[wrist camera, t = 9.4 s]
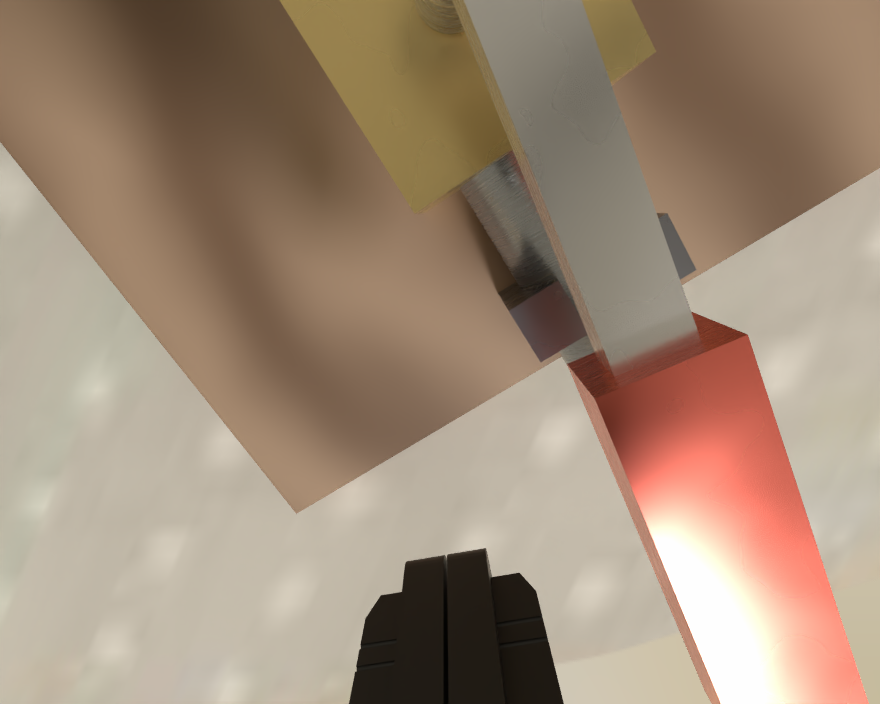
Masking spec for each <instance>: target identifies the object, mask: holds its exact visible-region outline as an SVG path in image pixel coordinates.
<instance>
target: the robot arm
mask: <svg viewBox="0 0 880 704" xmlns="http://www.w3.org/2000/svg"><path fill="white" fill-rule="evenodd" d="M356 667H357V672H355V676H354V681H353V686H352V691H351V697H350V702H349V704H564V703H563V699H562V695H561V691H560V687H559V683H558V679H557V675H556V671H555V666H554V662H553V658H552V654H551V650H550V646H549V642H548V638H547V634H546V630H545V626H544V622H543V618H542V614H541V610H540V605H539V601H538V597H537V593H536V591H535V590H534V588H533V587H532V586H531V585H530V584H529V583H528V582H527V581H526V580H525V578H524V577H523V576H522V575H521V574H520V573H515V574H509V575H503V576H497V577H492V575H491V570H490V565H489V560H488V555H487V551H486V548H484V549H478V550H472V551H466V552H460V553H454V554H448V555H447V559H446V556H445V555H443V556H437V557H431V558H425V559H419V560H413V561H407V562H406V564H405V570H404V579H403V588H402V592H399V593H393V594H387V595H381V596H380V598H379V599H378V601H377V602H376V604H375V605H374V607H373V608H372V610H371V611H370V613H369V614H368V616H367V617H366V619H365V624H364V629H363V635H362V640H361V649H360V650H359V655H358V660H357V666H356Z"/></svg>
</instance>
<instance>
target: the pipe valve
mask: <svg viewBox="0 0 880 704" xmlns="http://www.w3.org/2000/svg"><path fill="white" fill-rule="evenodd" d="M280 2H281V4H282V5H283V7H284V8H285V10H286V12H287V13H288V15H289V16H290V18H291V19H292V21H293V23H294V24H295V26H296V27H297V29H298V30H299V32H300V34H301V35H302V37H303V38H304V40H305V42H306V43H307V45H308V46H309V48H310V49H311V51H312V53H313V54H314V56H315V57H316V59H317V60H318V62H319V64H320V65H321V67H322V68H323V70H324V71H325V73H326V75H327V76H328V78H329V79H330V81H331V83H332V84H333V86H334V87H335V89H336V90H337V92H338V94H339V95H340V97H341V98H342V100H343V101H344V103H345V105H346V106H347V108H348V109H349V111H350V113H351V114H352V116H353V117H354V119H355V120H356V122H357V124H358V125H359V127H360V128H361V130H362V131H363V133H364V135H365V136H366V138H367V139H368V141H369V143H370V144H371V146H372V147H373V149H374V150H375V152H376V154H377V155H378V157H379V158H380V160H381V161H382V163H383V165H384V166H385V168H386V169H387V171H388V172H389V174H390V176H391V177H392V179H393V180H394V182H395V184H396V185H397V187H398V188H399V190H400V191H401V193H402V195H403V196H404V198H405V199H406V201H407V202H408V204H409V206H410V207H411V209H412V210H413V212H414V214H423V213H426V212H427V211H429V210H430V209H432V208H433V207H435V206H436V205H438V204H439V203H441V202H442V201H444V200H445V199H447V198H448V197H450V196H451V195H453V194H454V193H456V192H457V191H459V190H460V189H461V191H462V192H463V194H464V196H465V197H466V199H467V201H468V202H469V204H470V206H471V207H472V209H473V211H474V212H475V214H476V216H477V217H478V219H479V220H480V222H481V224H482V225H483V227H484V229H485V230H486V232H487V234H488V235H489V237H490V239H491V240H492V242H493V244H494V245H495V247H496V249H497V250H498V252H499V253H500V255H501V257H502V258H503V260H504V262H505V263H506V265H507V267H508V268H509V270H510V272H511V273H512V275H513V277H514V278H515V280H516V282H515V283H513V284H512V285H510V286H509V287H507V288H505V289H504V290H502V291H501V292H499V293H498V295H499V296H500V298H501V299H502V301H503V303H504V304H505V306H506V308H507V309H508V311H509V312H510V314H511V316H512V317H513V319H514V321H515V322H516V324H517V325H518V327H519V329H520V330H521V332H522V333H523V335H524V337H525V338H526V340H527V341H528V343H529V345H530V346H531V348H532V350H533V351H534V353H535V354H536V356H537V358H538V359H539V361H540V362H543V361H544V360H546V359H548V358H549V357H551V356H553V355H554V354H556V353H558V352H559V353H560V354H561V356H562V357H563V359H564V361H565V362H566V364H568V363H571V362H573V361H575V360H578V359H580V358H582V357H585V356H587V355H589V354H592V353H594V349H593V347H592V344H591V342H590V339H589V337H588V334H587V332H586V329H585V327H584V324H583V322H582V320H581V317H580V315H579V312H578V310H577V307H576V305H575V302H574V300H573V297H572V295H571V292H570V290H569V287H568V285H567V283H566V280H565V278H564V275H563V273H562V270H561V268H560V265H559V263H558V260H557V258H556V255H555V253H554V250H553V248H552V246H551V243H550V241H549V238H548V236H547V233H546V231H545V228H544V226H543V223H542V221H541V218H540V216H539V213H538V211H537V209H536V206H535V204H534V201H533V199H532V196H531V194H530V191H529V189H528V186H527V184H526V181H525V179H524V176H523V174H522V172H521V169H520V167H519V164H518V162H517V159H516V157H515V154H514V152H513V149H512V147H511V144H510V142H509V140H508V137H507V135H506V132H505V130H504V127H503V125H502V122H501V120H500V117H499V115H498V112H497V110H496V107H495V105H494V103H493V100H492V98H491V95H490V93H489V90H488V88H487V85H486V83H485V80H484V78H483V75H482V73H481V70H480V68H479V66H478V63H477V61H476V58H475V56H474V53H473V51H472V48H471V46H470V43H469V41H468V38H467V36H466V33H465V31H464V29H463V26H462V24H461V21H460V19H459V16H458V14H457V11H456V9H455V6H454V4H453V1H439V0H280ZM582 3H583V5H584V8H585V11H586V14H587V17H588V20H589V22H590V25H591V28H592V31H593V34H594V37H595V40H596V42H597V45H598V48H599V51H600V54H601V57H602V59H603V62H604V65H605V68H606V71H607V74H608V77H609V79H610V82H611V85H614V84H615V83H616V82H618V81H619V80H620V79H621V78H623V77H624V76H625V75H627V74H628V73H629V72H631V71H632V70H633V69H634V68H636V67H637V66H638V65H640V64H641V63H642V62H644V61H645V60H646V59H647V58H649V57H650V56H651V55H653V54H654V53H655V52H656V50H655V48H654V46H653V44H652V42H651V40H650V38H649V36H648V34H647V32H646V29H645V27H644V25H643V23H642V21H641V19H640V17H639V15H638V13H637V11H636V9H635V7H634V5H633V3H632V1H631V0H582ZM657 216H658V219H659V222H660V225H661V227H662V230H663V233H664V236H665V239H666V242H667V245H668V247H669V250H670V253H671V256H672V259H673V262H674V264H675V267H676V270H677V273H678V276H679V279H682V278H684V277H685V276H687V275H689V274H690V273H692V272H694V271H696V270H697V269H696V267H695V266H694V264H693V262H692V260H691V258H690V256H689V254H688V252H687V250H686V248H685V246H684V244H683V242H682V240H681V239H680V237H679V235H678V233H677V231H676V229H675V227H674V225H673V223H672V221H671V219H670V217H669V215H668V213H657ZM567 366H568V365H567Z"/></svg>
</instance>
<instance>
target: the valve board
mask: <svg viewBox="0 0 880 704" xmlns="http://www.w3.org/2000/svg"><path fill="white" fill-rule="evenodd" d="M631 1H632V3H633V5H634V7H635V9H636V11H637V13H638V15H639V17H640V19H641V21H642V23H643V25H644V27H645V29H646V32H647V34H648V36H649V38H650V40H651V42H652V44H653V46H654V48H655V50H656V52H655V53H654V54H653V55H651V56H650V57H649V58H647V59H646V60H645V61H644V62H642V63H641V64H640V65H638V66H637V67H636V68H634V69H633V70H632V71H631V72H629V73H628V74H627V75H625V76H624V77H623V78H621V79H620V80H619V81H618V82H616V83H615V84H614V85H612V88H613V91H614V94H615V96H616V99H617V102H618V105H619V108H620V111H621V114H622V116H623V119H624V122H625V125H626V128H627V131H628V134H629V136H630V139H631V142H632V145H633V148H634V151H635V153H636V156H637V159H638V162H639V165H640V168H641V171H642V173H643V176H644V179H645V182H646V185H647V188H648V190H649V193H650V196H651V199H652V202H653V205H654V208H655V210H656V213H668V215H669V217H670V219H671V221H672V223H673V225H674V227H675V229H676V231H677V233H678V235H679V237H680V239H681V240H682V242H683V244H684V246H685V248H686V250H687V252H688V254H689V256H690V258H691V260H692V262H693V264H694V266H695V267H696V269H697V270H696V271H694V272H692V273H690V274H689V275H687V276H685V277H684V278H682V279H680V282H681V284H682V285H683V284H685V283H686V282H688V281H690V280H691V279H693V278H695V277H696V276H698V275H700V274H701V273H703V272H705V271H707V270H708V269H710V268H712V267H713V266H715V265H717V264H718V263H720V262H722V261H723V260H725V259H727V258H728V257H730V256H732V255H734V254H735V253H737V252H739V251H740V250H742V249H744V248H745V247H747V246H749V245H750V244H752V243H754V242H755V241H757V240H759V239H761V238H762V237H764V236H766V235H767V234H769V233H771V232H772V231H774V230H776V229H777V228H779V227H781V226H782V225H784V224H786V223H788V222H789V221H791V220H793V219H794V218H796V217H798V216H799V215H801V214H803V213H804V212H806V211H808V210H809V209H811V208H813V207H815V206H816V205H818V204H820V203H821V202H823V201H825V200H826V199H828V198H830V197H831V196H833V195H835V194H836V193H838V192H840V191H842V190H843V189H845V188H847V187H848V186H850V185H852V184H853V183H855V182H857V181H858V180H860V179H862V178H863V177H865V176H867V175H869V174H870V173H872V172H874V171H875V170H877V169H879V168H880V0H631ZM0 142H1V143H2V144H3V146H4V147H5V148H6V149H7V151H8V152H9V153H10V154H11V156H12V157H13V158H14V159H15V161H16V162H17V163H18V165H19V166H20V167H21V168H22V170H23V171H24V172H25V173H26V175H27V176H28V177H29V178H30V180H31V181H32V182H33V183H34V185H35V186H36V187H37V188H38V190H39V191H40V192H41V193H42V195H43V196H44V197H45V198H46V200H47V201H48V202H49V203H50V205H51V206H52V207H53V208H54V210H55V211H56V212H57V213H58V215H59V216H60V217H61V219H62V220H63V221H64V222H65V224H66V225H67V226H68V227H69V229H70V230H71V231H72V232H73V234H74V235H75V236H76V237H77V239H78V240H79V241H80V242H81V244H82V245H83V246H84V247H85V249H86V250H87V251H88V252H89V254H90V255H91V256H92V257H93V259H94V260H95V261H96V262H97V264H98V265H99V266H100V267H101V269H102V270H103V271H104V273H105V274H106V275H107V276H108V278H109V279H110V280H111V281H112V283H113V284H114V285H115V286H116V288H117V289H118V290H119V291H120V293H121V294H122V295H123V296H124V298H125V299H126V300H127V301H128V303H129V304H130V305H131V306H132V308H133V309H134V310H135V311H136V313H137V314H138V315H139V316H140V318H141V319H142V320H143V321H144V323H145V324H146V325H147V327H148V328H149V329H150V330H151V332H152V333H153V334H154V335H155V337H156V338H157V339H158V340H159V342H160V343H161V344H162V345H163V347H164V348H165V349H166V350H167V352H168V353H169V354H170V355H171V357H172V358H173V359H174V360H175V362H176V363H177V364H178V365H179V367H180V368H181V369H182V370H183V372H184V373H185V374H186V375H187V377H188V378H189V379H190V381H191V382H192V383H193V384H194V386H195V387H196V388H197V389H198V391H199V392H200V393H201V394H202V396H203V397H204V398H205V399H206V401H207V402H208V403H209V404H210V406H211V407H212V408H213V409H214V411H215V412H216V413H217V414H218V416H219V417H220V418H221V419H222V421H223V422H224V423H225V424H226V426H227V427H228V428H229V429H230V431H231V432H232V433H233V435H234V436H235V437H236V438H237V440H238V441H239V442H240V443H241V445H242V446H243V447H244V448H245V450H246V451H247V452H248V453H249V455H250V456H251V457H252V458H253V460H254V461H255V462H256V463H257V465H258V466H259V467H260V468H261V470H262V471H263V472H264V473H265V475H266V476H267V477H268V478H269V480H270V481H271V482H272V483H273V485H274V486H275V487H276V489H277V490H278V491H279V492H280V494H281V495H282V496H283V497H284V499H285V500H286V501H287V502H288V504H289V505H290V506H291V507H292V509H293V510H294V511H295V512H296V514H297V513H298V512H300V511H302V510H303V509H305V508H307V507H308V506H310V505H312V504H313V503H315V502H317V501H318V500H320V499H322V498H324V497H325V496H327V495H329V494H330V493H332V492H334V491H335V490H337V489H339V488H340V487H342V486H344V485H345V484H347V483H349V482H351V481H352V480H354V479H356V478H357V477H359V476H361V475H362V474H364V473H366V472H367V471H369V470H371V469H372V468H374V467H376V466H378V465H379V464H381V463H383V462H384V461H386V460H388V459H389V458H391V457H393V456H394V455H396V454H398V453H399V452H401V451H403V450H405V449H406V448H408V447H410V446H411V445H413V444H415V443H416V442H418V441H420V440H421V439H423V438H425V437H426V436H428V435H430V434H432V433H433V432H435V431H437V430H438V429H440V428H442V427H443V426H445V425H447V424H448V423H450V422H452V421H453V420H455V419H457V418H459V417H460V416H462V415H464V414H465V413H467V412H469V411H470V410H472V409H474V408H475V407H477V406H479V405H480V404H482V403H484V402H486V401H487V400H489V399H491V398H492V397H494V396H496V395H497V394H499V393H501V392H502V391H504V390H506V389H507V388H509V387H511V386H513V385H514V384H516V383H518V382H519V381H521V380H523V379H524V378H526V377H528V376H529V375H531V374H533V373H534V372H536V371H538V370H540V369H541V368H543V367H545V366H546V365H548V364H550V363H551V362H553V361H555V360H556V359H558V358H560V357H561V354H560V353H559V352H558V353H556V354H554V355H553V356H551V357H549V358H548V359H546V360H544V361H543V362H540V361H539V359H538V358H537V356H536V354H535V353H534V351H533V350H532V348H531V346H530V345H529V343H528V341H527V340H526V338H525V337H524V335H523V333H522V332H521V330H520V329H519V327H518V325H517V324H516V322H515V321H514V319H513V317H512V316H511V314H510V312H509V311H508V309H507V308H506V306H505V304H504V303H503V301H502V299H501V298H500V296H499V295H498V293H499V292H501V291H502V290H504V289H505V288H507V287H509V286H510V285H512V284H513V283H515V282H516V280H515V278H514V277H513V275H512V273H511V272H510V270H509V268H508V267H507V265H506V263H505V262H504V260H503V258H502V257H501V255H500V253H499V252H498V250H497V249H496V247H495V245H494V244H493V242H492V240H491V239H490V237H489V235H488V234H487V232H486V230H485V229H484V227H483V225H482V224H481V222H480V220H479V219H478V217H477V216H476V214H475V212H474V211H473V209H472V207H471V206H470V204H469V202H468V201H467V199H466V197H465V196H464V194H463V192H462V191H461V189H460V190H459V191H457V192H456V193H454V194H453V195H451V196H450V197H448V198H447V199H445V200H444V201H442V202H441V203H439V204H438V205H436V206H435V207H433V208H432V209H430V210H429V211H427V212H426V213H423V214H414V212H413V210H412V209H411V207H410V206H409V204H408V202H407V201H406V199H405V198H404V196H403V195H402V193H401V191H400V190H399V188H398V187H397V185H396V184H395V182H394V180H393V179H392V177H391V176H390V174H389V172H388V171H387V169H386V168H385V166H384V165H383V163H382V161H381V160H380V158H379V157H378V155H377V154H376V152H375V150H374V149H373V147H372V146H371V144H370V143H369V141H368V139H367V138H366V136H365V135H364V133H363V131H362V130H361V128H360V127H359V125H358V124H357V122H356V120H355V119H354V117H353V116H352V114H351V113H350V111H349V109H348V108H347V106H346V105H345V103H344V101H343V100H342V98H341V97H340V95H339V94H338V92H337V90H336V89H335V87H334V86H333V84H332V83H331V81H330V79H329V78H328V76H327V75H326V73H325V71H324V70H323V68H322V67H321V65H320V64H319V62H318V60H317V59H316V57H315V56H314V54H313V53H312V51H311V49H310V48H309V46H308V45H307V43H306V42H305V40H304V38H303V37H302V35H301V34H300V32H299V30H298V29H297V27H296V26H295V24H294V23H293V21H292V19H291V18H290V16H289V15H288V13H287V12H286V10H285V8H284V7H283V5H282V4H281V2H280V0H0Z"/></svg>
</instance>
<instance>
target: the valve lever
mask: <svg viewBox="0 0 880 704" xmlns="http://www.w3.org/2000/svg"><path fill="white" fill-rule="evenodd" d="M439 1H453V4H454V6H455V9H456V11H457V14H458V16H459V19H460V21H461V24H462V26H463V29H464V31H465V33H466V36H467V38H468V41H469V43H470V46H471V48H472V51H473V53H474V56H475V58H476V61H477V63H478V66H479V68H480V70H481V73H482V75H483V78H484V80H485V83H486V85H487V88H488V90H489V93H490V95H491V98H492V100H493V103H494V105H495V107H496V110H497V112H498V115H499V117H500V120H501V122H502V125H503V127H504V130H505V132H506V135H507V137H508V140H509V142H510V144H511V147H512V149H513V152H514V154H515V157H516V159H517V162H518V164H519V167H520V169H521V172H522V174H523V176H524V179H525V181H526V184H527V186H528V189H529V191H530V194H531V196H532V199H533V201H534V204H535V206H536V209H537V211H538V213H539V216H540V218H541V221H542V223H543V226H544V228H545V231H546V233H547V236H548V238H549V241H550V243H551V246H552V248H553V250H554V253H555V255H556V258H557V260H558V263H559V265H560V268H561V270H562V273H563V275H564V278H565V280H566V283H567V285H568V287H569V290H570V292H571V295H572V297H573V300H574V302H575V305H576V307H577V310H578V312H579V315H580V317H581V320H582V322H583V324H584V327H585V329H586V332H587V334H588V337H589V339H590V342H591V344H592V347H593V349H594V353H592V354H589V355H587V356H585V357H582V358H580V359H578V360H575V361H573V362H571V363H568V364H567V365H568V367H569V370H570V372H571V374H572V377H573V379H574V382H575V384H576V386H577V389H578V391H579V393H580V396H581V398H582V400H583V403H584V405H585V408H586V410H587V412H588V415H589V417H590V419H591V422H592V424H593V427H594V429H595V431H596V434H597V436H598V438H599V441H600V443H601V446H602V448H603V450H604V453H605V455H606V457H607V460H608V462H609V465H610V467H611V469H612V472H613V474H614V476H615V479H616V481H617V484H618V486H619V488H620V491H621V493H622V495H623V498H624V500H625V502H626V505H627V507H628V510H629V512H630V514H631V517H632V519H633V521H634V524H635V526H636V529H637V531H638V533H639V536H640V538H641V540H642V543H643V545H644V548H645V550H646V552H647V555H648V557H649V559H650V562H651V564H652V567H653V569H654V571H655V574H656V576H657V578H658V581H659V583H660V586H661V588H662V590H663V593H664V595H665V597H666V600H667V602H668V605H669V607H670V609H671V612H672V614H673V616H674V619H675V621H676V623H677V626H678V628H679V631H680V633H681V635H682V638H683V640H684V642H685V645H686V647H687V650H688V652H689V654H690V657H691V659H692V661H693V664H694V666H695V668H696V671H697V673H698V676H699V678H700V680H701V682H702V685H703V687H704V690H705V692H706V694H707V695H708V697H709V699H710V701H711V703H712V704H868V700H867V697H866V694H865V691H864V688H863V685H862V682H861V679H860V676H859V673H858V670H857V667H856V664H855V661H854V658H853V655H852V652H851V649H850V645H849V643H848V640H847V636H846V634H845V630H844V627H843V624H842V621H841V618H840V615H839V612H838V609H837V606H836V603H835V600H834V597H833V594H832V591H831V587H830V584H829V581H828V578H827V575H826V572H825V569H824V566H823V563H822V560H821V557H820V554H819V551H818V548H817V545H816V542H815V539H814V536H813V533H812V529H811V526H810V523H809V520H808V517H807V514H806V511H805V508H804V505H803V502H802V499H801V496H800V493H799V490H798V487H797V484H796V481H795V478H794V475H793V471H792V468H791V465H790V462H789V459H788V456H787V453H786V450H785V447H784V444H783V441H782V438H781V435H780V432H779V429H778V426H777V423H776V420H775V417H774V413H773V410H772V407H771V404H770V401H769V398H768V395H767V392H766V389H765V386H764V383H763V380H762V377H761V374H760V371H759V368H758V365H757V362H756V359H755V355H754V352H753V349H752V346H751V343H750V340H749V337H748V335H747V334H745V333H742V332H740V331H737V330H735V329H732V328H730V327H727V326H725V325H723V324H720V323H718V322H715V321H713V320H710V319H708V318H705V317H703V316H700V315H698V314H695V313H693V312H691V310H690V307H689V304H688V301H687V299H686V296H685V293H684V290H683V287H682V284H681V282H680V279H679V276H678V273H677V270H676V267H675V264H674V262H673V259H672V256H671V253H670V250H669V247H668V245H667V242H666V239H665V236H664V233H663V230H662V227H661V225H660V222H659V219H658V216H657V213H656V210H655V208H654V205H653V202H652V199H651V196H650V193H649V190H648V188H647V185H646V182H645V179H644V176H643V173H642V171H641V168H640V165H639V162H638V159H637V156H636V153H635V151H634V148H633V145H632V142H631V139H630V136H629V134H628V131H627V128H626V125H625V122H624V119H623V116H622V114H621V111H620V108H619V105H618V102H617V99H616V96H615V94H614V91H613V88H612V85H611V82H610V79H609V77H608V74H607V71H606V68H605V65H604V62H603V59H602V57H601V54H600V51H599V48H598V45H597V42H596V40H595V37H594V34H593V31H592V28H591V25H590V22H589V20H588V17H587V14H586V11H585V8H584V5H583V3H582V0H439Z"/></svg>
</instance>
